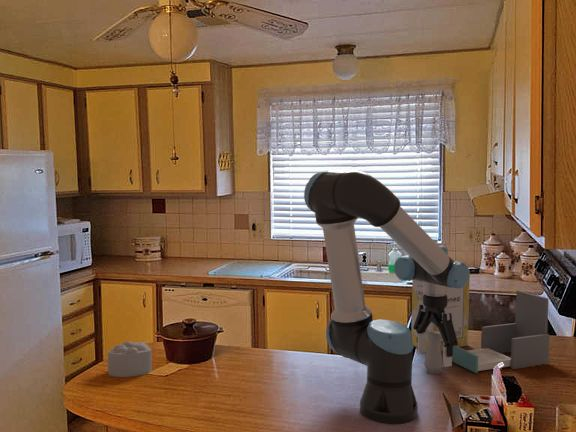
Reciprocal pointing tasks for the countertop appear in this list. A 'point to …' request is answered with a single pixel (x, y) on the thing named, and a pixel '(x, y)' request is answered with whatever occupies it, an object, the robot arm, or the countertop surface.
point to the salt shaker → (433, 354)
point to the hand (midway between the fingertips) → (434, 359)
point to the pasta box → (455, 306)
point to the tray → (478, 359)
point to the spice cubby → (522, 333)
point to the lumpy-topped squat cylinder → (129, 359)
